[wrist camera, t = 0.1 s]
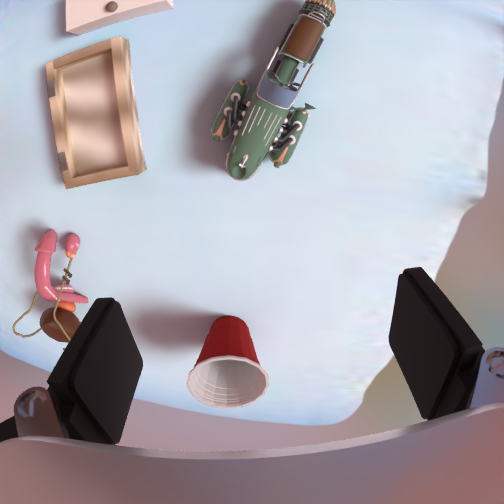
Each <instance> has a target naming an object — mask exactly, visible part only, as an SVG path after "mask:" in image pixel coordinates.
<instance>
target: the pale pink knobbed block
mask: <svg viewBox="0 0 504 504" xmlns="http://www.w3.org/2000/svg"><path fill="white" fill-rule="evenodd" d="M169 9H173V0H66V32H70V33H74V34H77V35H82V34H85V33H87V32H90V31H93V30H96V29H99V28H102V27H105V26H108V25H111V24H114V23H118V22H121V21H124V20H128V19H132V18H135V17H139V16H143V15H147V14H151V13H155V12H160V11H164V10H169Z"/></svg>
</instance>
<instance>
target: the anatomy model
mask: <svg viewBox="0 0 504 504" xmlns="http://www.w3.org/2000/svg"><path fill="white" fill-rule="evenodd" d="M56 243H57V233H56V232H55V231H54V230H49V231H48V232H47V233H46V234H45V235H44V236H43V237H42V238H41V239H40V241H39V243H38V244H37V246H36V247H35V250H36V251H38V254H37V259H36V264H35V282H36V287H37V292H36V295H35V297H34V299H33V302H32V305H31V307H30V309H29V310H28V311H27V312H25V313H24V314H23V315H22V316H21V317H20V318H19V319H18V320H17V321H16V322H15V323H14V324H13V331H14V333H15V334H16V335H19V336H22V337H23V338H24V337H30V336H33V335H35V334H36V333H38V332H39V331H40V330H41V329H42V330H43V331H44V332H45V333H46V334H47V335H48V336H49V337H51V338H53V339H55V340H56V341H58V342H67V343H69V342H70V340H71V338H72V337H73V335H74V333H75V332H76V330H77V328H78V327H79V325H80V324H81V322H80V321H79V319H78V318H77V317H76V316H75V315H74V314H73V313H72V312H74V311H75V309H76V306H75V304H74V302H76V303H88V302H89V301H88V298H86V297H84V296H81V295H77V294H74V291H73V288H71V287H70V286H69V285H66V284H64V283H65V281H67V284H69V282H70V280H68V279H67V278H66V277H67V276H69V278H71V277H72V274H71V273H70V272H69V268H70V265H71V261H72V258H73V257H74V256H75V255H76V251H77V250H78V248H79V245H80V239H79V237H78V236H77V235H76V234H71V235H69V237H68V238H67V240H66V246H65V249H66V255H67V257H69V258H70V261H69V264H68V267H67V269H65V268H64V272H66V273H65V276H63V277H62V278H63V282H62V284H61V285H59V286H56V287H52V286H51V283H50V262H51V256H52V253H53V252H55V251H56ZM67 274H68V275H67ZM38 292H39V294H40V295H41V296H42V297H43V298H44V299H46V300H48V301H56V306H55V307H54V308H49V309H47V310H46V311H45V312H43V314H42V316H41V318H40V326H41V328H40V329H38V330H37V331H36V332H34V333H33V334H30V335H22V334H19V333H17V332H15V329H14V327H15V325H16V323H17V322H18V321H20V320H21V319H22V318H23V316H24V315H26V314H27V313H29V312H30V311H31V309H32V308H33V305H34V302H35V300H36V297H37V295H38ZM63 350H65V348H63Z"/></svg>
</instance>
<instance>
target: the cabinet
mask: <svg viewBox="0 0 504 504" xmlns="http://www.w3.org/2000/svg"><path fill="white" fill-rule="evenodd" d="M46 73H47V90H48V98H49V101H50V108H51V115H52V122H53V128H54V134H55V140H56V145H57V150H58V159H59V164H60V168H61V172H62V174H63V179H64V183H65V187H66V189H69V188H74V187H78V186H83V185H87V184H92V183H97V182H102V181H107V180H112V179H117V178H122V177H128V176H133V175H139V174H140V173H142V172H143V171H145V170H146V163H145V158H144V152H143V146H142V140H141V134H140V127H139V121H138V114H137V107H136V100H135V92H134V84H133V76H132V67H131V58H130V47H129V40H128V39H125V38H123V37H121V36H119V37H116V38H113V39H109V40H106V41H103V42H100V43H97V44H94V45H92V46H89V47H86V48H83V49H81V50H78V51H75V52H73V53H70V54H68V55H65V56H63V57H60V58H58V59H56V60H53V61H51V62H49V63H46Z"/></svg>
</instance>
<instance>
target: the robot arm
mask: <svg viewBox="0 0 504 504" xmlns="http://www.w3.org/2000/svg"><path fill="white" fill-rule="evenodd" d="M389 344H390V347H391V349H392V351H393V353H394V355H395V357H396V359H397V362H398V364H399V366H400V368H401V370H402V372H403V375H404V377H405V379H406V381H407V384H408V385H409V388H410V390H411V392H412V395H413V397H414V399H415V402H416V404H417V407H418V409H419V411H420V414H421V416H422V418H423V419H427V420H428V421H426V422H422V423H418V424H414V425H411V426H407V427H403V428H399V429H395V430H391V431H387V432H382V433H377V434H373V435H368V436H364V437H358V438H354V439H347V440H341V441H335V442H329V443H323V444H315V445H307V446H299V447H290V448H279V449H267V450H249V451H213V452H212V451H173V450H157V449H144V448H134V447H125V446H117V445H115V444H117V443H119V441H120V439H121V436H122V432H123V429H124V425H125V422H126V419H127V415H128V412H129V409H130V406H131V402H132V399H133V396H134V393H135V390H136V387H137V383H138V380H139V377H140V374H141V371H142V368H143V360H142V357H141V355H140V352H139V350H138V348H137V345H136V343H135V341H134V338H133V336H132V333H131V331H130V328H129V326H128V323H127V321H126V318H125V316H124V313H123V311H122V308H121V305H120V303H119V302H117V301H115V300H114V298H112V297H111V298H98V299H96V300H95V302H94V303H93V305H92V306H91V308H90V309H89V311H88V312H87V314H86V316H85V317H84V319H83V320H82V322H81V324H80V325H79V327H78V328H77V330H76V332H75V333H74V335H73V337H72V338H71V340H70V342H69V343H68V345H67V347H66V348H65V350H64V352H63V353H62V355H61V357H60V359H59V360H58V362H57V364H56V366H55V367H54V369H53V371H52V373H51V375H50V376H49V378H48V380H47V383H48V384H49V388H48V389H47V390H46V389H45V388H43V387H32V388H29V389H27V390H25V391H24V392H23V393H22V394H21V395H19V397H18V398H17V400H16V401H15V404H14V416H13V417H11V418H9V419H7V420H5V421H4V422H2V423H0V504H504V348H501V347H494V348H491V349H488V350H487V351H486V352H485V350H484V349H483V347H482V343H481V341H480V340H479V339H478V337H477V336H476V334H475V333H474V332H473V330H472V329H471V328H470V327H469V325H468V324H467V323H466V321H465V320H464V319H463V317H462V316H461V315H460V314H459V312H458V311H457V310H456V308H455V307H454V306H453V305H452V303H451V302H450V301H449V300H448V298H447V297H446V296H445V295H444V293H443V292H442V291H441V290H440V289H439V287H438V286H437V285H436V284H435V283H434V281H433V280H432V279H431V278H430V277H429V275H428V274H427V273H426V272H425V271H424V270H423V269H422V268H421V267H416V268H408V269H405V270H404V271H403V274H400V275H399V278H398V284H397V291H396V298H395V304H394V310H393V316H392V322H391V327H390V332H389Z"/></svg>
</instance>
